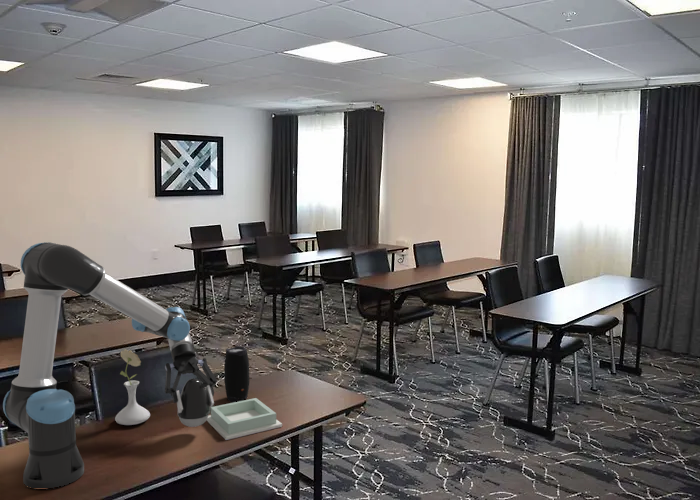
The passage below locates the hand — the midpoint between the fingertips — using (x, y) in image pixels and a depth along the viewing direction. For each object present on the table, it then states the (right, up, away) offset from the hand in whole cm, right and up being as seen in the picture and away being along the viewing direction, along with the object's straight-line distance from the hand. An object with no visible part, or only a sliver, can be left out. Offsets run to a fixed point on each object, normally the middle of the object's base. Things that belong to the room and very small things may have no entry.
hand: (196, 407), depth 187 cm
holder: (+13, -9, +13) cm, 20 cm away
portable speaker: (+6, -6, +36) cm, 37 cm away
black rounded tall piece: (-2, -6, +3) cm, 7 cm away
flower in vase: (-26, -9, +14) cm, 31 cm away
